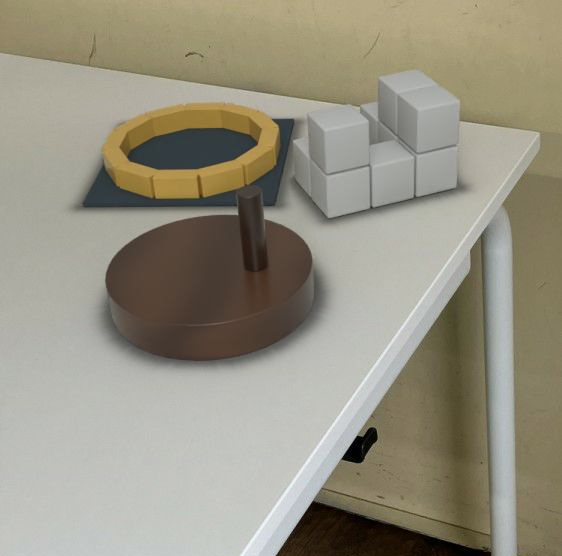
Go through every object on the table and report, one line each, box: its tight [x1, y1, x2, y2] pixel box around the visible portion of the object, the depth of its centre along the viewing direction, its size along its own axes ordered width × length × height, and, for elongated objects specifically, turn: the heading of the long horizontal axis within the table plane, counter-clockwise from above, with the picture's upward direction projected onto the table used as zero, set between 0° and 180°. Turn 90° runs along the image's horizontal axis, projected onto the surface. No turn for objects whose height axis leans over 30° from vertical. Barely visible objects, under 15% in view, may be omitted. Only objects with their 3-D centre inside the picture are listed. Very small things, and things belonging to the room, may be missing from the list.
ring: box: [101, 101, 281, 199], centre depth 93 cm, size 16×16×2 cm
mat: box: [82, 118, 295, 208], centre depth 94 cm, size 17×17×1 cm
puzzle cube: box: [292, 68, 461, 219], centre depth 87 cm, size 12×12×8 cm
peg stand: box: [104, 185, 315, 361], centre depth 73 cm, size 15×15×9 cm
